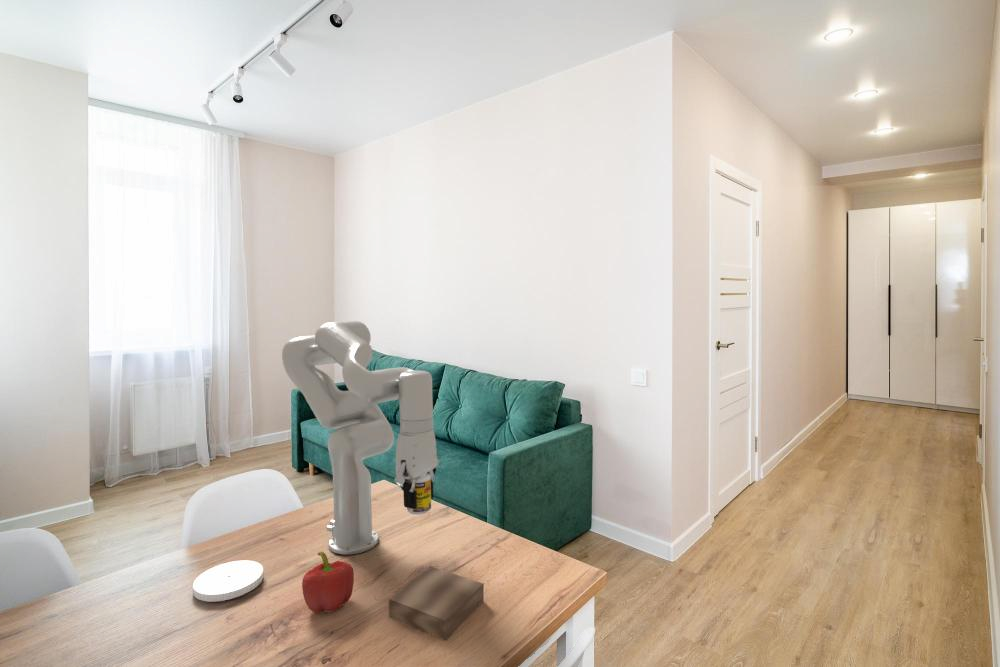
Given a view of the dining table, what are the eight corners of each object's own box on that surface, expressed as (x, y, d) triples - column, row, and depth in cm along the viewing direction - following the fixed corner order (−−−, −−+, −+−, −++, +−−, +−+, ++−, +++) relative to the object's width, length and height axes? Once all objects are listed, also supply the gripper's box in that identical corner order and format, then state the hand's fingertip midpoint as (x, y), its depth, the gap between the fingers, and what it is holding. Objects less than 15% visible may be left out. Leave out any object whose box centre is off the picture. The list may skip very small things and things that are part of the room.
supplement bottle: (413, 517, 113) (411, 472, 112) (403, 509, 118) (401, 466, 117) (435, 511, 116) (434, 467, 116) (424, 503, 121) (423, 461, 120)
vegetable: (295, 601, 108) (294, 556, 108) (343, 584, 115) (342, 542, 114) (311, 628, 100) (310, 579, 99) (362, 608, 106) (361, 562, 105)
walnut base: (389, 617, 103) (388, 598, 103) (430, 583, 115) (430, 566, 115) (445, 640, 96) (445, 620, 96) (483, 601, 108) (483, 583, 108)
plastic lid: (231, 566, 123) (231, 556, 123) (277, 576, 119) (277, 566, 118) (178, 598, 110) (177, 587, 110) (226, 612, 105) (226, 600, 105)
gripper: (426, 415, 125) (428, 487, 126) (378, 432, 110) (381, 513, 111) (451, 418, 121) (453, 492, 123) (405, 436, 106) (408, 520, 107)
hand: (419, 501), depth 117 cm, fingers closed on supplement bottle, 5 cm apart
